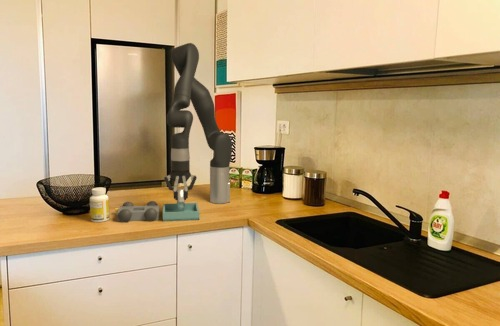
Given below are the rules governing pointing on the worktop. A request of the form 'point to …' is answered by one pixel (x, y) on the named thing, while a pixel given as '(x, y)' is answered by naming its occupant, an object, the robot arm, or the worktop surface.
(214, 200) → the robot arm
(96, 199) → the supplement bottle
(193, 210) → the tray
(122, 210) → the trolley
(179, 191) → the pin
